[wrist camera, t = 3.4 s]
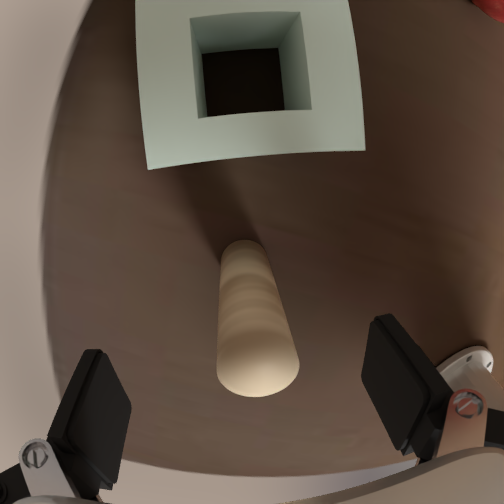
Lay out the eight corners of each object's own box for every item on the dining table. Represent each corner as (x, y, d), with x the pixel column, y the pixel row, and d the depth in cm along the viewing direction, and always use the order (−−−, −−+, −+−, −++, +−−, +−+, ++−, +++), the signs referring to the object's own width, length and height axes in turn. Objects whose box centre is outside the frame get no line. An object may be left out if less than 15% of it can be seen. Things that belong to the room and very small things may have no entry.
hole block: (324, 144, 17) (365, 150, 12) (173, 158, 17) (148, 170, 12) (295, -63, 12) (315, -111, 6) (160, -54, 11) (142, -102, 6)
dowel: (269, 279, 20) (299, 391, 11) (224, 284, 20) (223, 400, 11) (265, 237, 19) (299, 332, 10) (218, 242, 19) (210, 342, 10)
